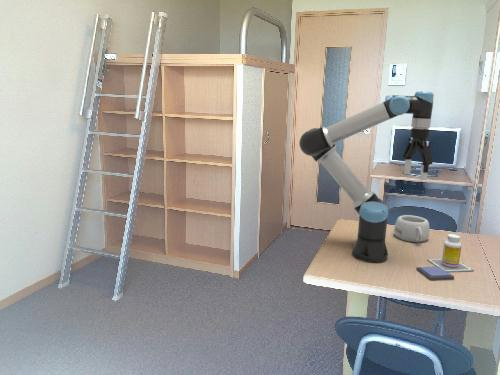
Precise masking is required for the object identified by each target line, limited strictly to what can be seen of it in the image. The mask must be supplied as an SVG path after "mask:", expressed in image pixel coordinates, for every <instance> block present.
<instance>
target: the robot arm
mask: <svg viewBox="0 0 500 375" xmlns="http://www.w3.org/2000/svg"><path fill="white" fill-rule="evenodd" d="M434 96H435V95H434V93H433V91H418V90H417V91H415V93H414V94H413V95H401V94H398V95H395V94H391V95H389V94H388V95H386V96H385V98H384V101H382V102H379V103H378V104H376V105H374V106H372V107H371V106H370V107H369V108H367V109H364V110H363V111H361V112H358V113H355V114H353V115H351V116H349V117H347V118H345V119H342V120H340V121H337V122H336V123H333V124H331V125H328V126H326V127H325V126H321V127H314V128H311V129H309V130H307V131H305V132H304V133H302V135H301V136H300V139H299V148H300V150H301V152H302V153H303V154H305V155H306V156H309V157H311V158H312V159H313V160H314V161H315V163H320V164H321V165H322V166H323V167H324V168H325V169H326V171H327V172H328V173H329V174H330V176H331V177H332V178H333V179H334V180H335V181H336V183H337V184H338V186H339V187H340V188H341V189H342V190H343V191H344V192H345V194H346V195H347V197H348V198H349V199H350V200H351V201H352V202H353V206H352V207H353V209H354V210H355V211H356V212H357V214H358V215H359V219H358V228H357V238H356V240H355V243H354V245H353V247H352V250H351V255H352V257H353V258H354V259H356V260H359V261H361V262H365V263H373V264H374V263H377V264H379V263H380V264H381V263H384V262H386V261H387V260H388V257H389V253H388V249H387V244H386V236H387V226H388V217H389V208H388V206H387V204H386V203H385V201H384V200H383V199H381V198H379V197H378V196H377V194H376V193H375V192H374V191H370V190H368V189H367V187H366V186H365V185H364V184H363V183H362V181H361V180H360V178H359V177H358V176H357V175H356V174H355V173H354V171H353V170H352V169H351V168H350V167H349V165H348V164H347V163H346V162H345V161H344V159H343V158H342V156H340V154H339V153H338V152H337V151H336V148H337V145H336V143H339V142H341V141H342V140H345V139H348V138H350V137H352V136H354V135H357V134H359V133H361V132H363V131H366V130H368V129H371V128H372V127H373V128H374V127H375V126H377V125H379V124H382V123H384V122H386V121H389V120H392V119H394V118H396V117H398V116H402V115H405V114H406V115H407V114H409V115H412V119H411V125H410V126H411V129H410V137H408V139H407V143H406V146H405V148H404V152H403V153H402V157H403V158H404V169H403V170H404V171H403V175H410V174H411V168H412V159H413V158H412V157H413V156H414V154H415V153H416V151H418V152H419V155H420V158H421V162H422V163H421V166H420V174H419V180H420V181H427V179H428V173H429V166H430V165H433V156H432V148H431V141H430V140H429V141H428V140H427V139H429V138H430V128H431V122H432V114H433V113H432V112H433V107H434Z"/></svg>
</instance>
